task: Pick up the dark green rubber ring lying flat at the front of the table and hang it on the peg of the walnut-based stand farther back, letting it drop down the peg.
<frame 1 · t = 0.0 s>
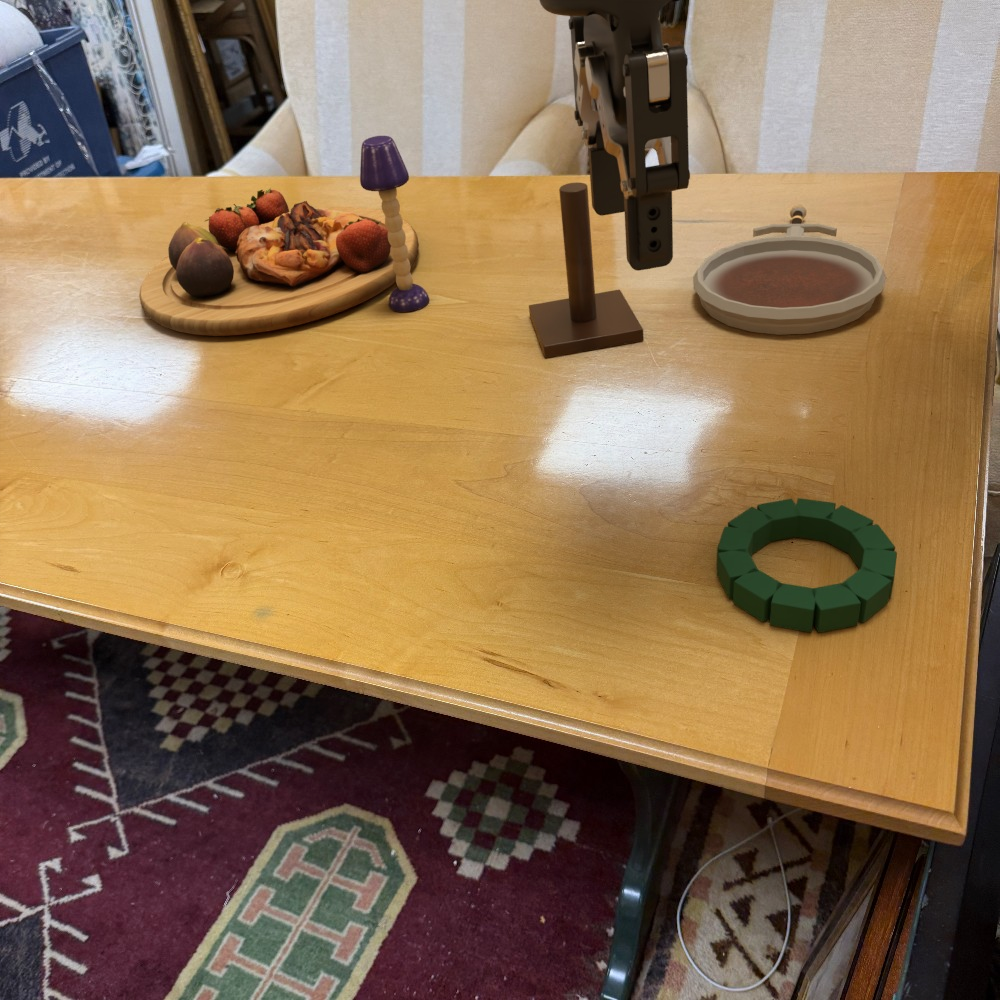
hand: (629, 236, 50), 20 cm above the table, tool pointing down, fingers open, 8 cm apart
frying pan: (789, 273, 89), on the table
ring: (803, 572, 55), on the table
post: (584, 328, 85), on the table
wooden plate: (285, 277, 105), on the table
toy lamp: (409, 306, 94), on the table
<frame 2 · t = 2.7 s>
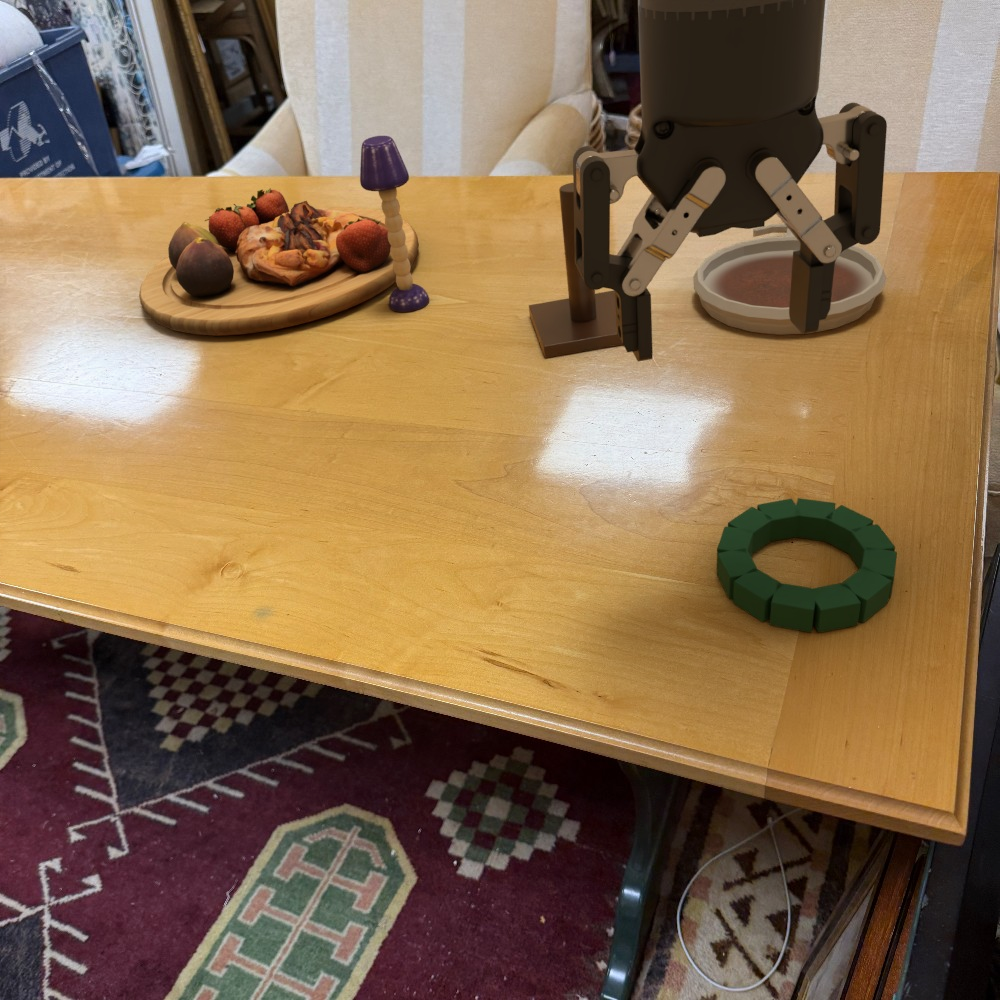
hand: (722, 340, 47), 16 cm above the table, tool pointing down, fingers open, 8 cm apart
nothing on the table moved.
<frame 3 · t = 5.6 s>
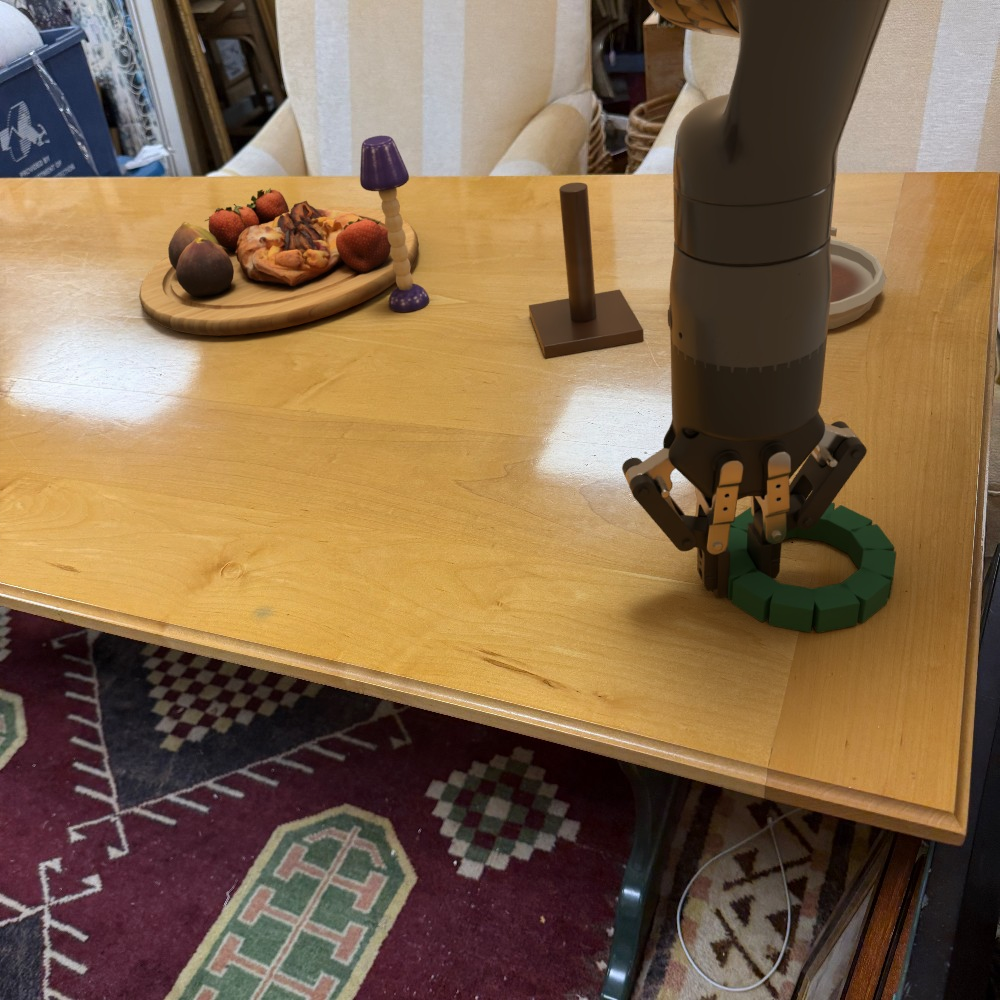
hand: (737, 583, 55), 0 cm above the table, tool pointing down, fingers closed on ring, 2 cm apart
ring: (802, 572, 55), on the table, touching gripper
everything else where it was.
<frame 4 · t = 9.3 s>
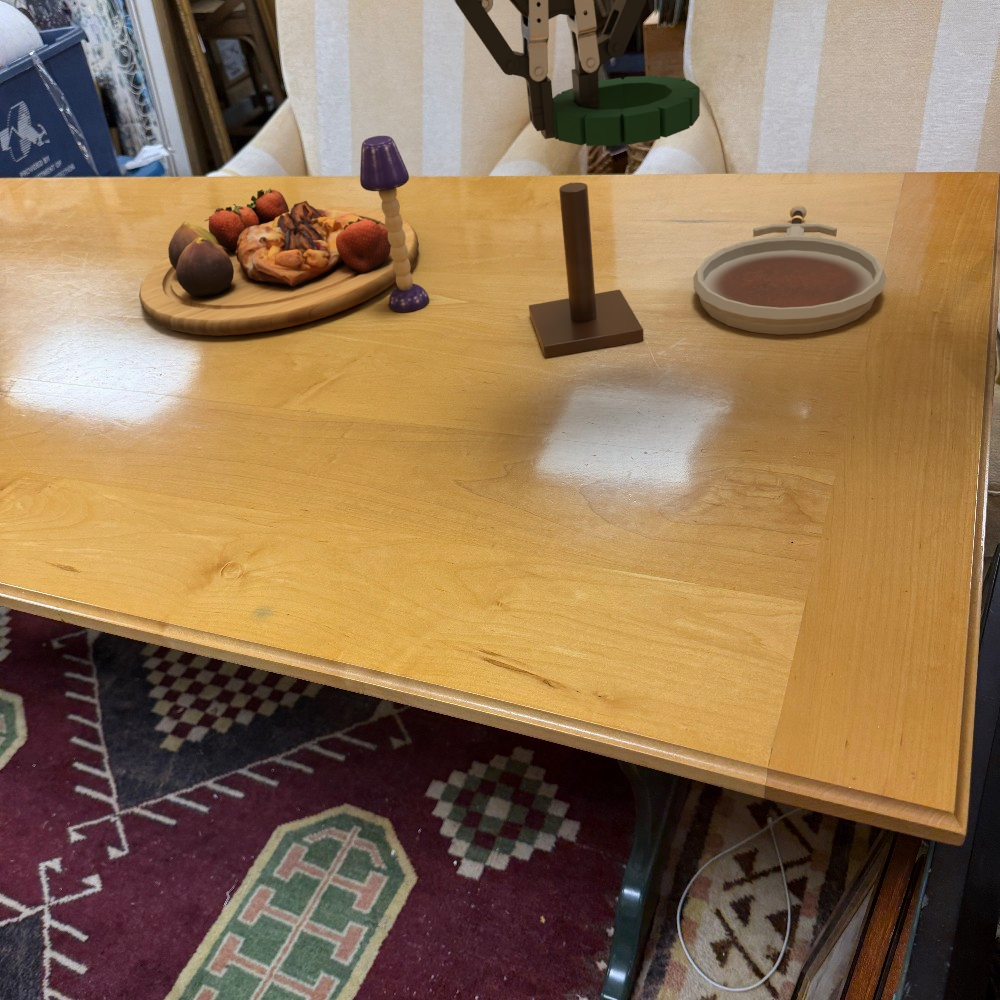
hand: (566, 131, 62), 21 cm above the table, tool pointing down, fingers closed on ring
ring: (623, 123, 63), point 21 cm above the table, touching gripper
everything else where it was.
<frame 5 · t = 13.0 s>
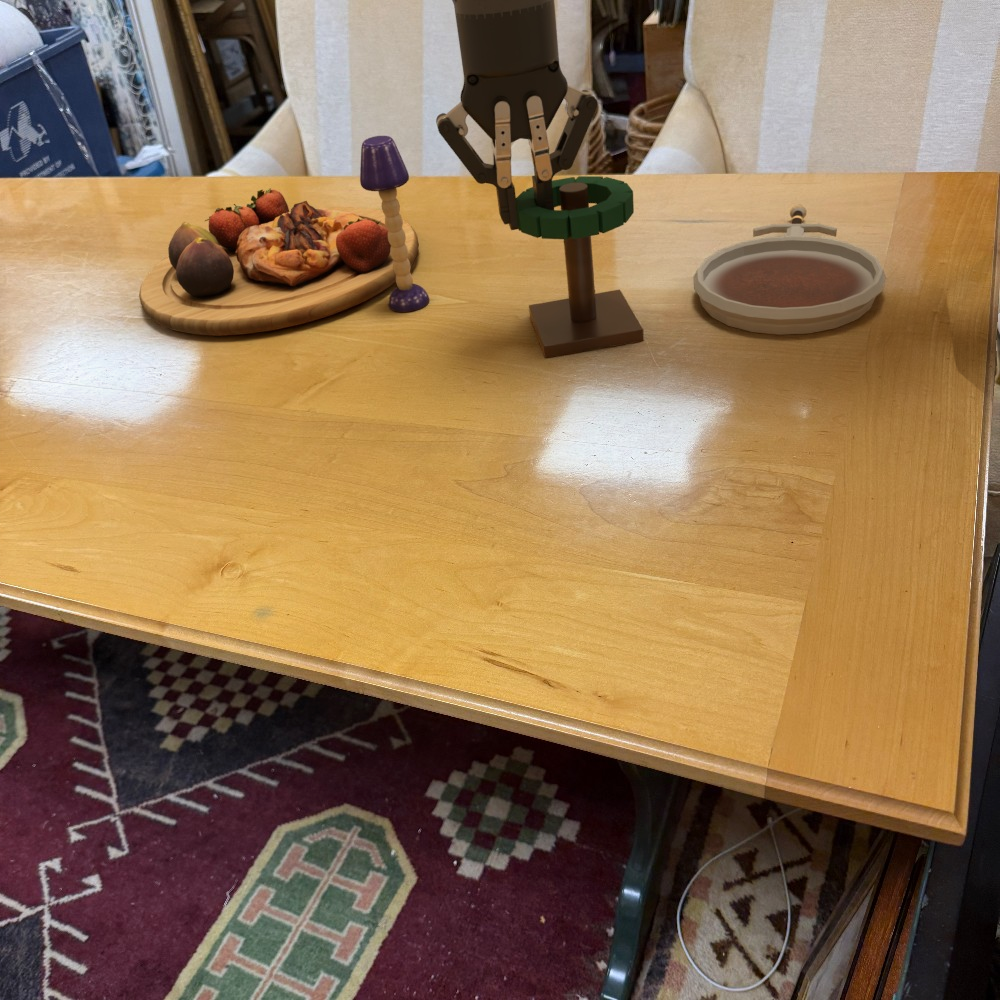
hand: (528, 223, 78), 11 cm above the table, tool pointing down, fingers closed on ring
ring: (574, 216, 78), point 11 cm above the table, touching gripper
everything else where it was.
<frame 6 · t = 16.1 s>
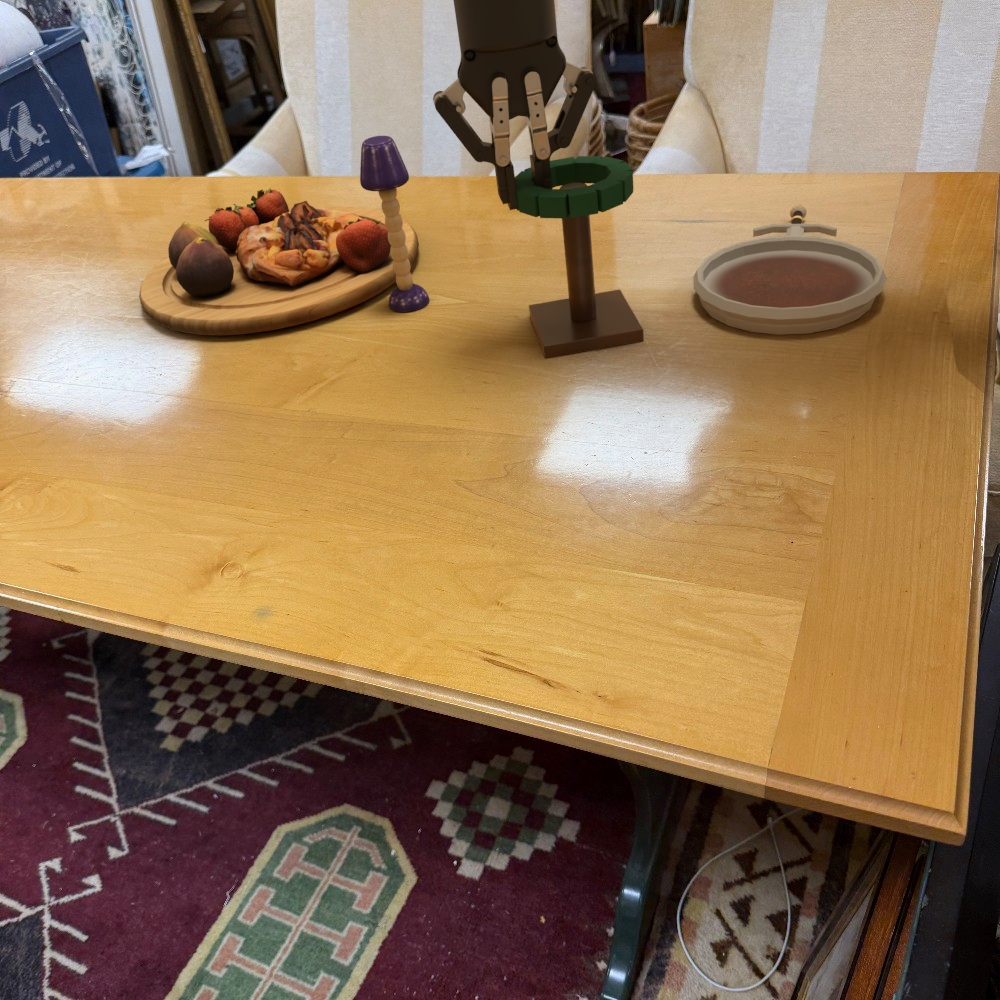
hand: (526, 203, 77), 12 cm above the table, tool pointing down, fingers closed on ring
ring: (573, 196, 77), point 12 cm above the table, touching gripper
everything else where it was.
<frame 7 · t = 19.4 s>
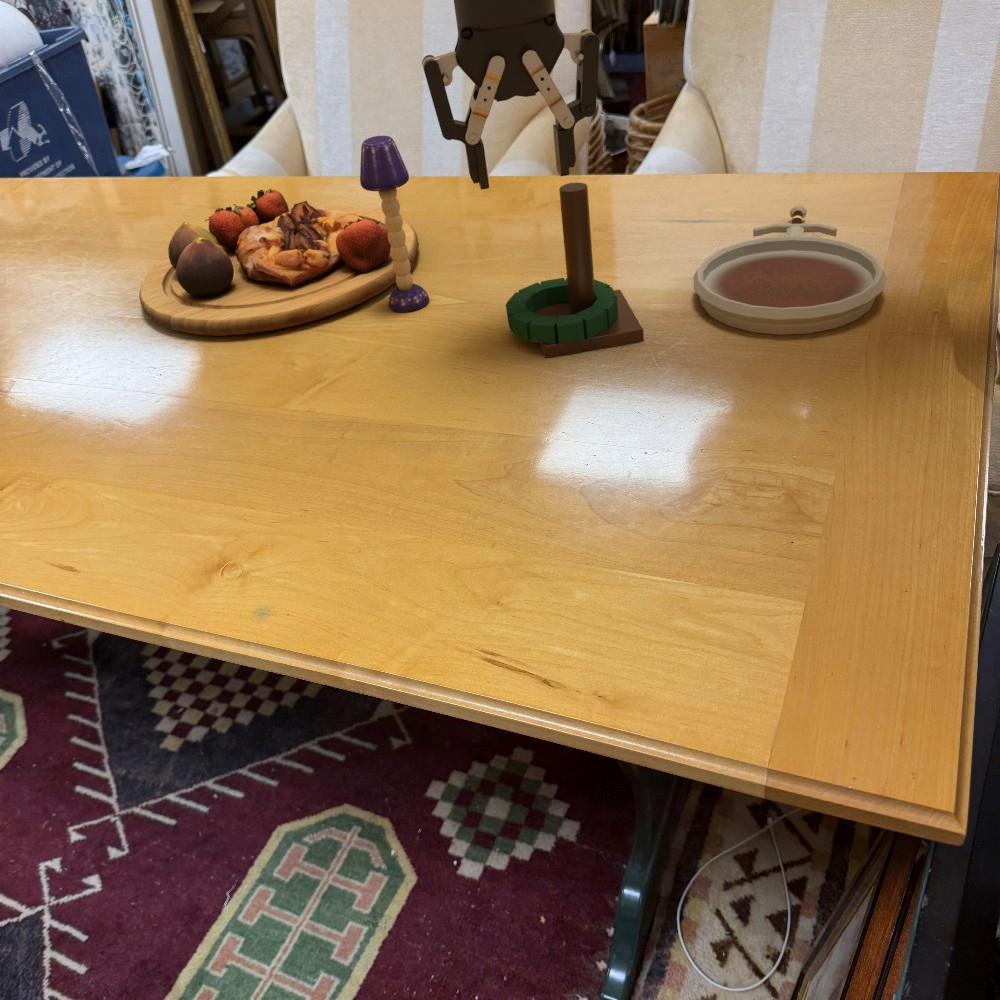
hand: (523, 179, 76), 15 cm above the table, tool pointing down, fingers open, 6 cm apart
ring: (562, 318, 84), point 1 cm above the table, touching post
everything else where it was.
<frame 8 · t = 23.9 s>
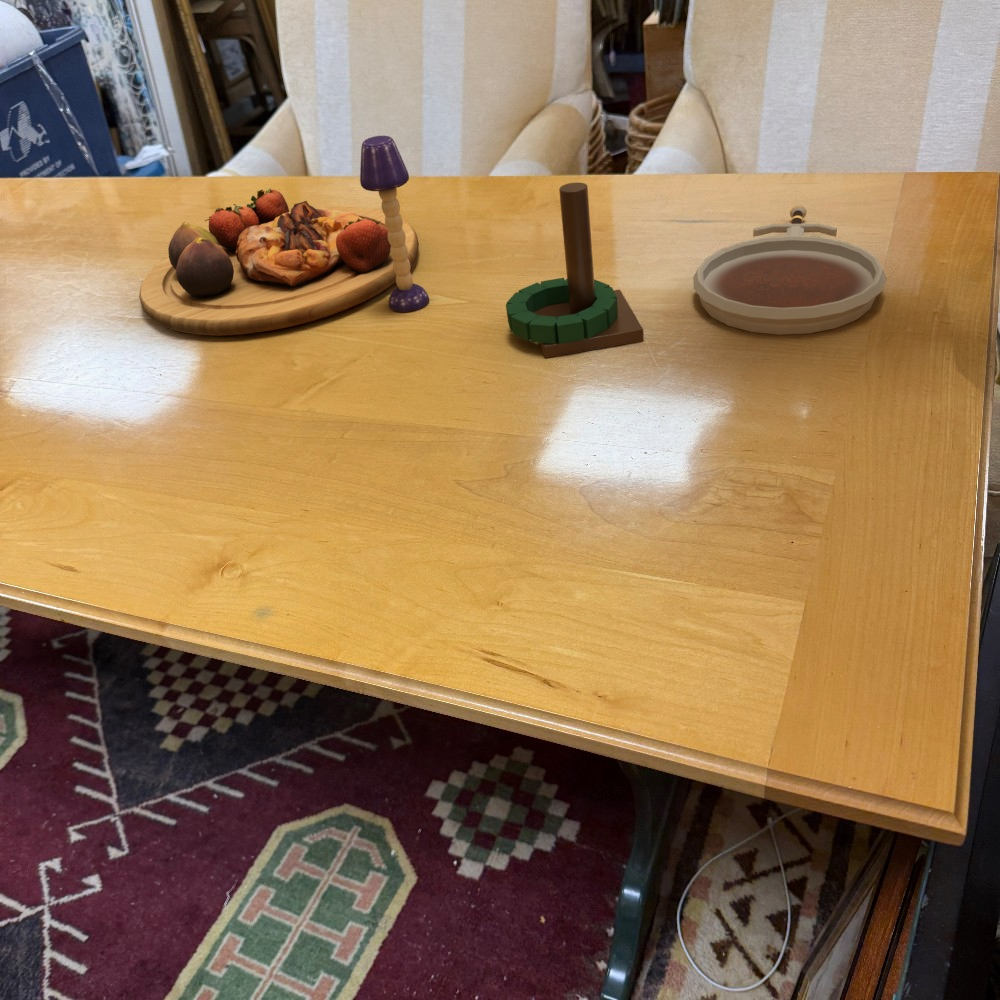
nothing on the table moved.
at the end: ring 2.0 cm from the post (horizontally); ring point 1.2 cm above the table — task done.
